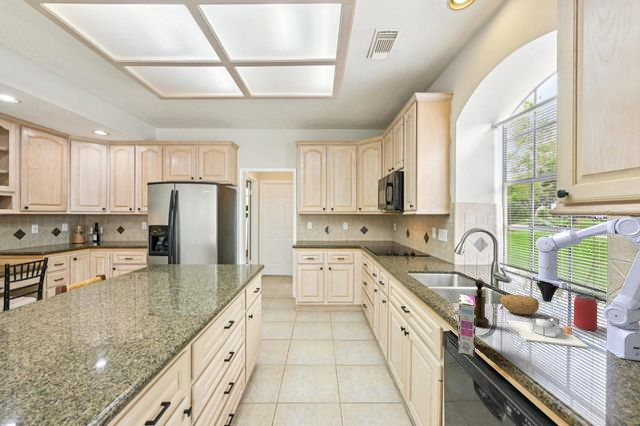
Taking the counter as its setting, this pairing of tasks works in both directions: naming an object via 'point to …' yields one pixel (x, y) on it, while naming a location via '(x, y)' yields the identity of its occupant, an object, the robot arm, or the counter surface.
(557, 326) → the elbow collar
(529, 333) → the base
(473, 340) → the candy bar box
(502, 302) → the potato
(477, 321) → the pepper mill
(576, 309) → the beer can
